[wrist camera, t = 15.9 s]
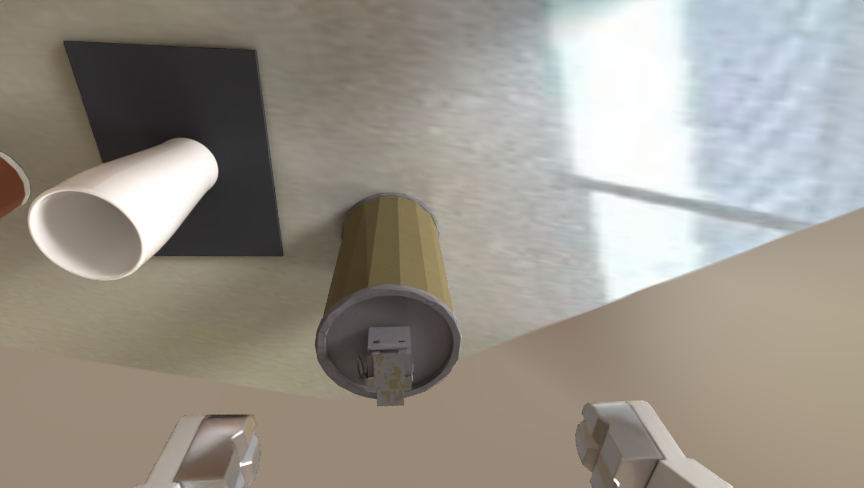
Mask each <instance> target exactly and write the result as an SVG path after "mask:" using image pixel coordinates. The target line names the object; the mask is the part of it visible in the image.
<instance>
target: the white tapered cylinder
mask: <svg viewBox="0 0 864 488" xmlns="http://www.w3.org/2000/svg"><path fill="white" fill-rule="evenodd" d="M217 178H218V165H217V162H216V159H215V157H214V156H213V154H212V153H211V152H210V151H209V149H207V148H206V147H205V146H204V145H202V144H201V143H199V142H197V141H195V140H192V139H189V138H173V139H170V140H167V141H165V142H163V143H161V144H159V145H156V146H154V147H151V148H148V149H145V150H142V151H139V152H136V153H133V154H130V155H127V156H124V157H121V158H118V159H115V160H112V161H109V162H106V163H103V164H100V165H97V166H94V167H92V168H89V169H87V170H85V171H82V172H80V173H78V174H76V175H74V176H72V177H69V178H68V179H66V180H64V181H62V182H60V183H58V184H57V185H55V186H53V187H51V188H50V189H48V190H46V191H44V192H43V193H41V194H40V195H38V196H37V197H36V198H35V199H34V201H33V202H32V203H31V205H30V207H29V210H28V215H27V224H28V229H29V232H30V235H31V237H32V239H33V241H34V243H35V244H36V246H37V247H38V248H39V250H40V251H41V252H42V253H43V254H44V255H45V256H46V257H47V258H48V259H49V260H50V261H52V262H53V263H54V264H56V265H57V266H59V267H60V268H62V269H64V270H66V271H68V272H70V273H72V274H74V275H77V276H80V277H83V278H87V279H92V280H102V281H107V280H116V279H120V278H123V277H126V276H128V275H130V274H132V273H133V272H135V271H136V270H137V269H138V268H139V267H141V266H142V265H143V264H144V263H145V262H147V261H148V260H149V259H150V258H151V257H152V256H153V255H155V254H156V253H157V252H158V251H159V250H160V249H161V248H162V247H163V246H164V245H165V244H166V242H167V241H168V240H169V239H170V238H171V237H172V236H173V234H174V233H175V232H176V231H177V229H178V228H179V227H180V225H181V224H182V223H183V222H184V220H185V219H186V218H187V216H188V215H189V214H190V212H191V211H192V210H193V209H194V207H195V206H196V205H197V203H198V202H199V201H200V200H201V198H202V197H203V196H204V195H205V193H206V192H207V191H208V190H210V189H211V188H212V187H213V185H214V184H215V182H216V180H217Z"/></svg>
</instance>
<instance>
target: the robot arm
mask: <svg viewBox="0 0 864 488" xmlns="http://www.w3.org/2000/svg"><path fill="white" fill-rule="evenodd" d="M582 415H583V417H584V419H585V420H583V421H582V422H581V423H580V424H578V426H577V430H576V434H575V437H576V447H577V451H578V455H579V457H580V460H581V462H582V464H583V465H584V466H585V467H586V468H587V469H588V470H590V471H591V472H592V475H591V479H590V483H591V486H592V488H734V487H732V486H731V485H730V484H728V483H727V482H725V481H724V480H722V479H721V478H720V477H718V476H717V475H715V474H714V473H712V472H711V471H709V470H708V469H707V468H705V467H704V466H702V465H701V464H700V463H698V462H697V461H695V460H694V459H687V458H686V457H685V456H684V454H683V453H682V451H681V450H680V448H679V447H678V445H677V444H676V442H675V441H674V439H673V438H672V436H671V435H670V433H669V432H668V431H667V429H666V428H665V426H664V425H663V423H662V422H661V420H660V419H659V417H658V416H657V414H656V413H655V412H654V410H653V408H652V407H651V406H650V405H649V403H647V402H646V401H625V402H624V401H614V402H594V403H587V404H586V405H584V408H583V410H582ZM255 426H256V422H255V418H254V415H185V416H183V417H182V418H181V419H180V420H179V422H178V423H177V424H176V426H175V428H174V430H173V432H172V434H171V435H170V437H169V439H168V441H167V443H166V445H165V447H164V448H163V451H162V452H161V454H160V456H159V458H158V459H157V462H156V463H155V465H154V467H153V469H152V471H151V472H150V474H149V476H148V478H147V480H146V482H145V483H144V484H139V485H136V486H134V487H133V488H247V487H248V486H249V485H250V484H251V483H252V482H253V481H254V480H255V478H256V475H257V471H258V467H259V462H260V455H261V449H260V440H259V437H258V436H257V435H256V434H254V433H253V432H254V429H255Z"/></svg>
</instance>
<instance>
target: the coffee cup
mask: <svg viewBox="0 0 864 488" xmlns="http://www.w3.org/2000/svg"><path fill="white" fill-rule="evenodd" d="M29 195H30V185H29V180H28V178H27V177H26V175H25V173H24V171H23V170H22V168H21V167H20V166H19V165H18V164H17V163H16V162H15V161H13V160H12V159H11V158H10V157H9V156H7V155H6V154H4V153H2V152H0V218H2V217H3V216H5V215H6V214H8V213H10V212H11V211H13V210H15V209H17V208H19V207H20V206H22V205H23V204H25V203H26V202H27V200H28V198H29Z"/></svg>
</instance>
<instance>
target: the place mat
mask: <svg viewBox="0 0 864 488" xmlns="http://www.w3.org/2000/svg"><path fill="white" fill-rule="evenodd" d="M63 42H64V45H65V48H66V51H67V54H68V57H69V60H70V63H71V67H72V70H73V73H74V76H75V79H76V82H77V85H78V88H79V91H80V94H81V97H82V100H83V103H84V106H85V109H86V112H87V115H88V119H89V122H90V125H91V128H92V131H93V134H94V137H95V140H96V143H97V146H98V149H99V152H100V155H101V158H102V161H103V163H106V162H109V161H112V160H115V159H118V158H121V157H124V156H127V155H130V154H133V153H136V152H139V151H142V150H145V149H148V148H151V147H154V146H156V145H159V144H161V143H163V142H165V141H167V140H170V139H173V138H189V139H192V140H195V141H197V142H199V143H201V144H202V145H204V146H205V147H206V148H207V149H209V151H210V152H211V153H212V154H213V156H214V157H215V159H216V162H217V165H218V178H217V180H216V182H215V184H214V185H213V187H212V188H211V189H210V190H208V191H207V192H206V193H205V195H204V196H203V197H202V198H201V200H200V201H199V202H198V203H197V205H196V206H195V207H194V209H193V210H192V211H191V212H190V214H189V215H188V216H187V218H186V219H185V220H184V222H183V223H182V224H181V225H180V227H179V228H178V229H177V231H176V232H175V233H174V234H173V236H172V237H171V238H170V239H169V240H168V241H167V242H166V244H165V245H164V246H163V247H162V248H161V249H160V250H159V251H158V252H157V253H156V254H155V255H153V256H283V248H282V241H281V233H280V225H279V218H278V210H277V203H276V195H275V188H274V180H273V173H272V165H271V158H270V150H269V143H268V135H267V128H266V120H265V113H264V105H263V97H262V90H261V82H260V75H259V67H258V60H257V52H256V50H241V49H221V48H201V47H181V46H161V45H141V44H121V43H101V42H81V41H63Z"/></svg>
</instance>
